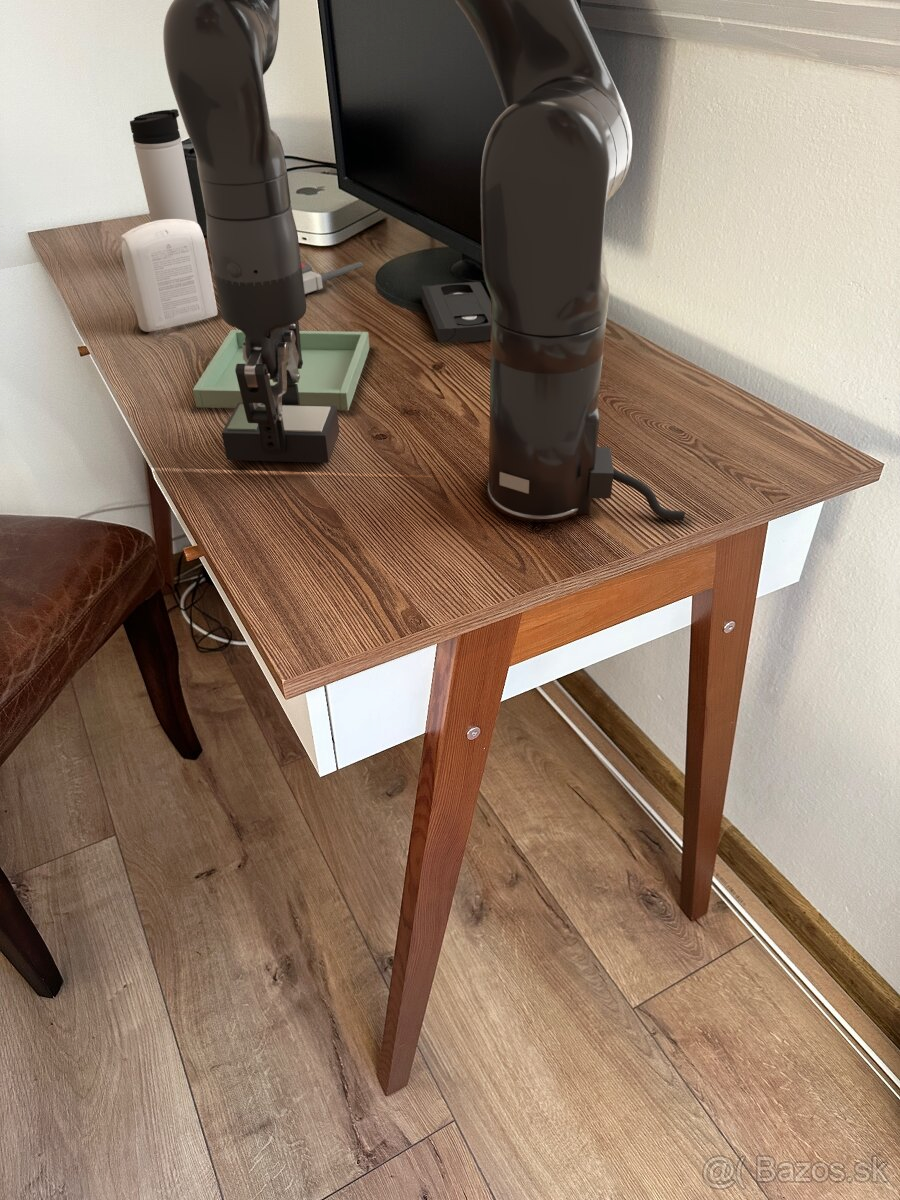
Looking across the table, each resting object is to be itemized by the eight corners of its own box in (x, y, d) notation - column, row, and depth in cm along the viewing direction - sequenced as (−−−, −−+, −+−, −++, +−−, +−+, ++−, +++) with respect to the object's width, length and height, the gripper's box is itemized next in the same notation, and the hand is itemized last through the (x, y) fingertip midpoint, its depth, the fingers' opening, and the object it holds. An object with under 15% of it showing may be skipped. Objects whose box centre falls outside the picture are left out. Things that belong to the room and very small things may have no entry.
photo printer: (211, 306, 118) (192, 209, 110) (224, 317, 115) (205, 218, 107) (135, 325, 113) (109, 225, 105) (146, 336, 111) (121, 234, 103)
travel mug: (201, 270, 128) (171, 115, 115) (156, 271, 128) (120, 116, 115) (211, 255, 133) (182, 105, 120) (167, 255, 133) (134, 106, 120)
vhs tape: (502, 339, 108) (503, 323, 107) (439, 345, 107) (438, 329, 106) (479, 295, 119) (480, 280, 118) (421, 300, 118) (421, 285, 117)
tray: (369, 350, 106) (368, 331, 105) (348, 413, 95) (346, 393, 93) (234, 348, 108) (231, 329, 106) (196, 410, 96) (192, 389, 94)
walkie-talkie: (249, 317, 115) (367, 276, 125) (243, 283, 112) (365, 244, 122) (212, 299, 120) (329, 261, 130) (205, 266, 117) (325, 230, 127)
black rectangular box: (339, 432, 90) (336, 403, 88) (328, 463, 85) (325, 434, 83) (242, 429, 90) (237, 401, 88) (226, 460, 86) (220, 431, 84)
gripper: (280, 295, 70) (306, 476, 81) (316, 235, 81) (334, 401, 92) (188, 294, 71) (225, 473, 82) (236, 234, 82) (263, 399, 93)
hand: (283, 434), depth 87 cm, fingers closed on black rectangular box, 6 cm apart
